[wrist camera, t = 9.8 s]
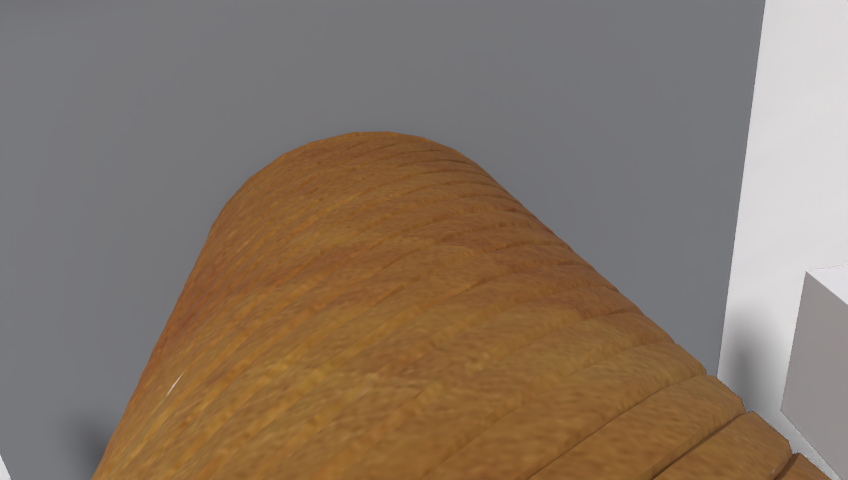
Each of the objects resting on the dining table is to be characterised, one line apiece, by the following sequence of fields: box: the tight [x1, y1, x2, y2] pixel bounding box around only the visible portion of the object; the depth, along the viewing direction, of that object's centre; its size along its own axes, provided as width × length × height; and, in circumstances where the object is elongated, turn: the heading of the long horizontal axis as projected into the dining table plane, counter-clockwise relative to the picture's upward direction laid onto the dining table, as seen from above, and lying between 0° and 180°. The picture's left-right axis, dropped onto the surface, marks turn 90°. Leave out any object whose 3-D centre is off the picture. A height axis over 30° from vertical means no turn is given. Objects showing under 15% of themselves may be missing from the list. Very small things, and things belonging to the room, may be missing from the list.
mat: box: [0, 0, 765, 480], centre depth 15 cm, size 15×15×1 cm
